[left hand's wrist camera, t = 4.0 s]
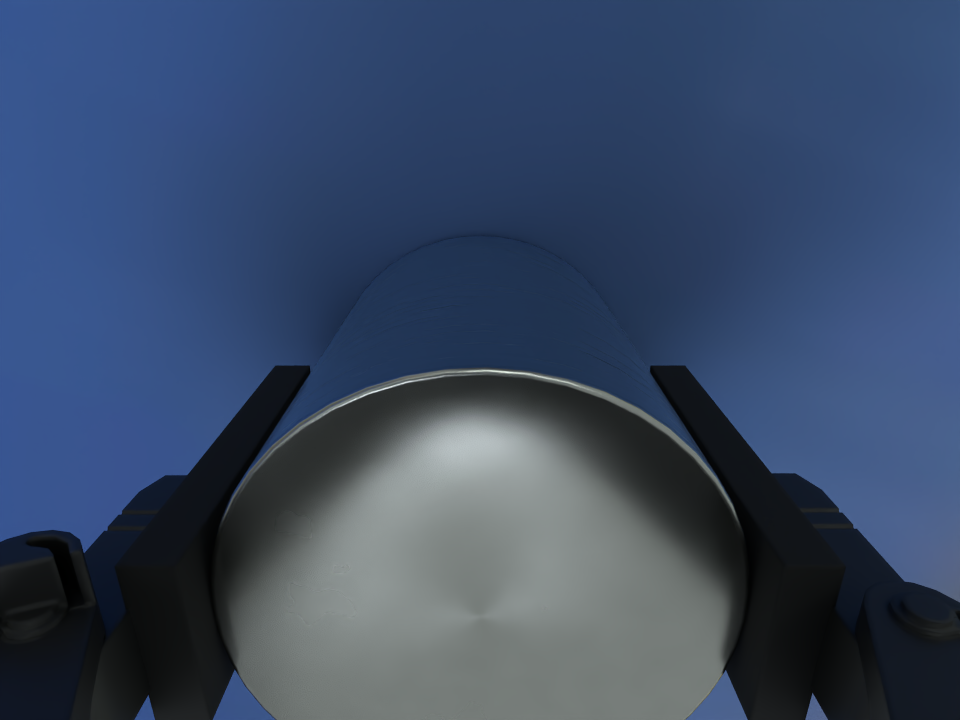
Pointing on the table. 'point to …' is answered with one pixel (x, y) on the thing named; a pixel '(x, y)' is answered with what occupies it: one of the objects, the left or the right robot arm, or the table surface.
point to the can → (480, 514)
